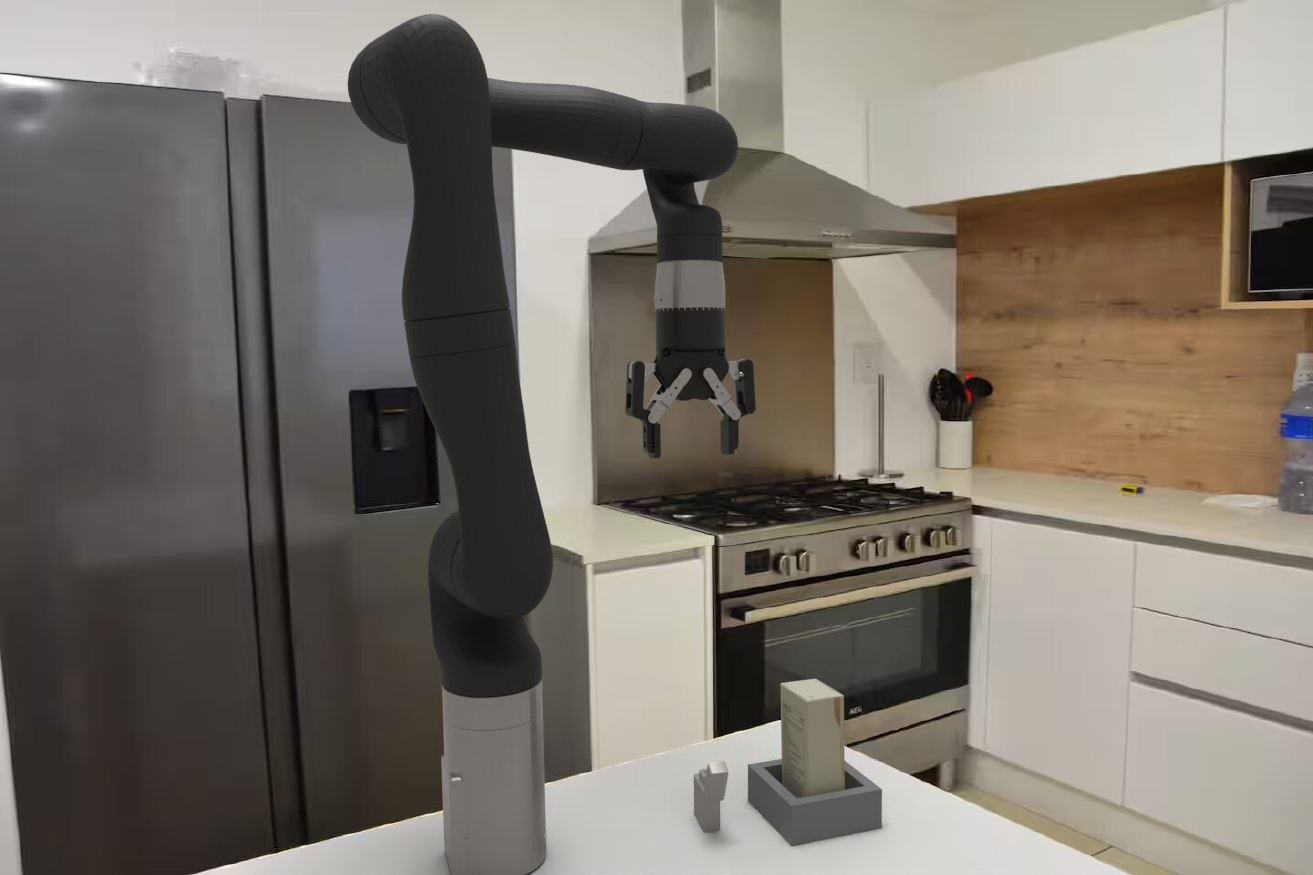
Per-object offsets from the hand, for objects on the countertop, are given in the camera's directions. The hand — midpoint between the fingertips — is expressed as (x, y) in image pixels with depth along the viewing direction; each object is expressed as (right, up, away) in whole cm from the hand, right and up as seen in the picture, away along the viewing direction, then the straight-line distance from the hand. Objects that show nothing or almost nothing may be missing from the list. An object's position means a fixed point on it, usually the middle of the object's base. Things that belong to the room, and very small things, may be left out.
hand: (691, 455), depth 107 cm
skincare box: (+12, -36, -6) cm, 38 cm away
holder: (+12, -37, -6) cm, 39 cm away
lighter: (+2, -37, -9) cm, 38 cm away
